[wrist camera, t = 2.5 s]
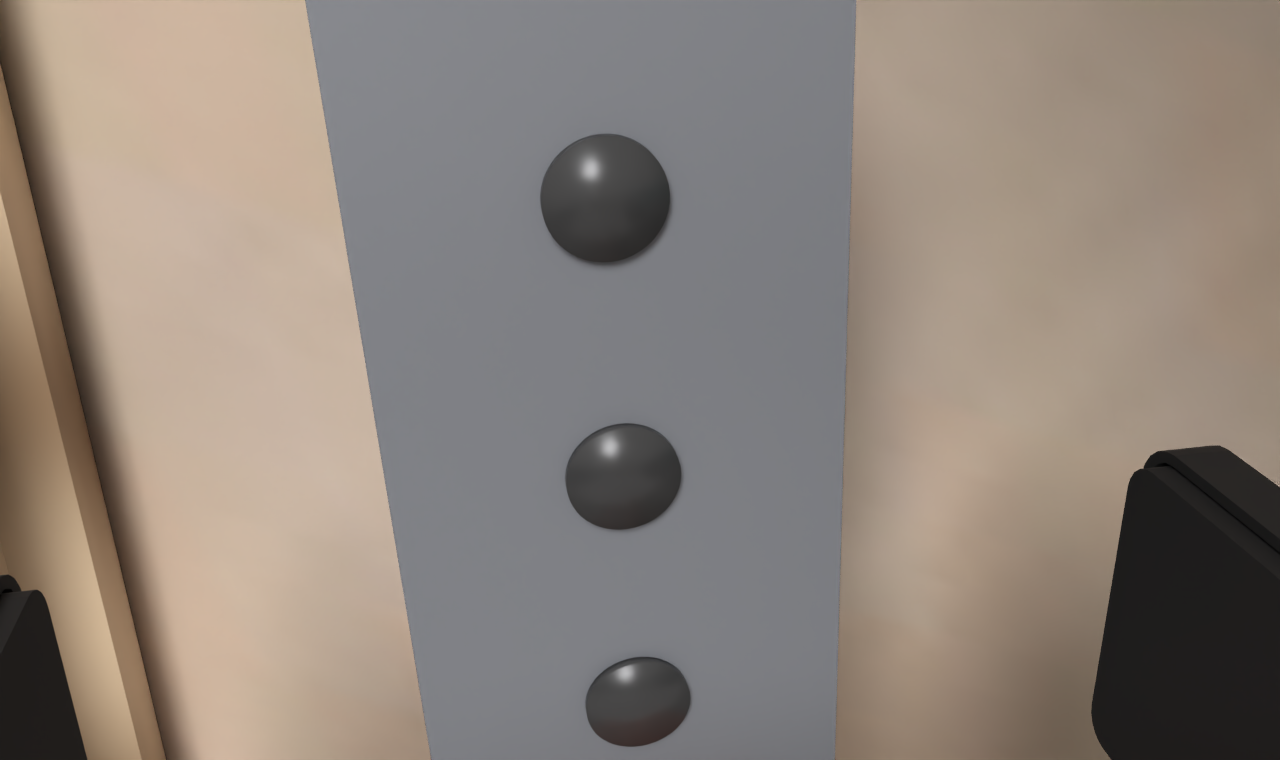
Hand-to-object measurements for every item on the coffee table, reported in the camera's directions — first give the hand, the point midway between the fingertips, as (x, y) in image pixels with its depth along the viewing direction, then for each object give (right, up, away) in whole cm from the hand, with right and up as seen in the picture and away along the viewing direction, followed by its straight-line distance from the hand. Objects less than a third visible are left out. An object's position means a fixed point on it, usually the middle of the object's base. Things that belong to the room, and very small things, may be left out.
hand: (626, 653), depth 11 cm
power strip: (-1, +4, +6) cm, 7 cm away
